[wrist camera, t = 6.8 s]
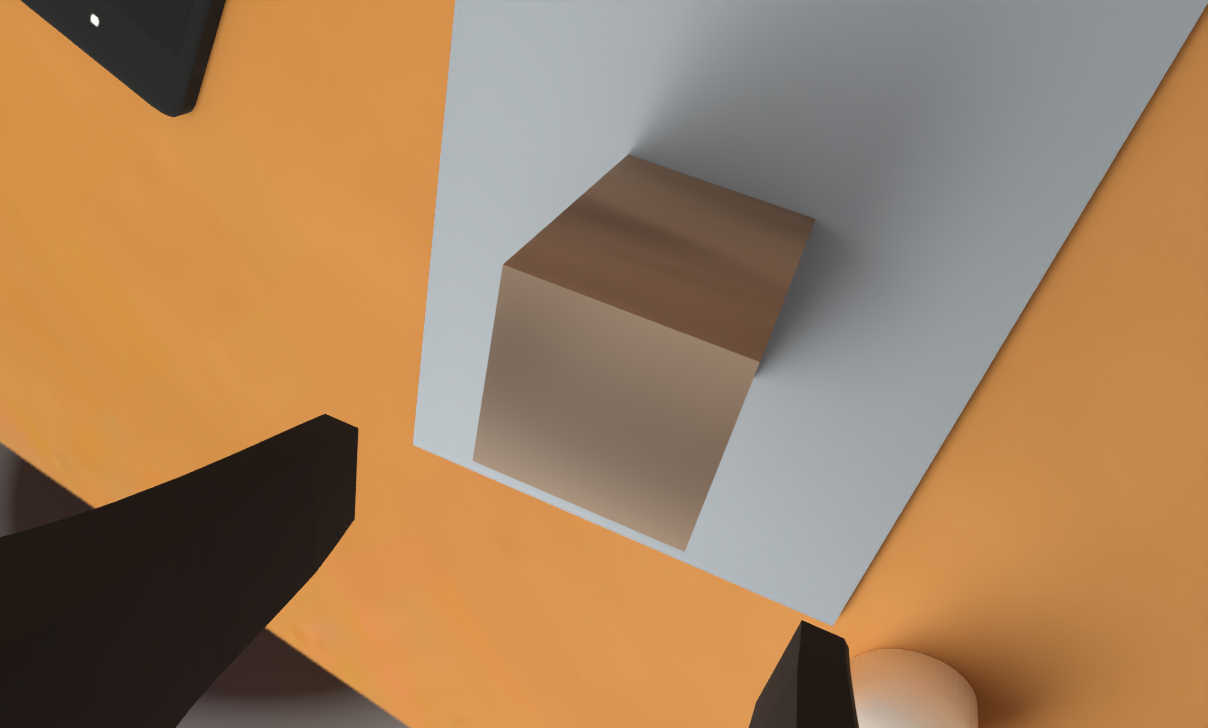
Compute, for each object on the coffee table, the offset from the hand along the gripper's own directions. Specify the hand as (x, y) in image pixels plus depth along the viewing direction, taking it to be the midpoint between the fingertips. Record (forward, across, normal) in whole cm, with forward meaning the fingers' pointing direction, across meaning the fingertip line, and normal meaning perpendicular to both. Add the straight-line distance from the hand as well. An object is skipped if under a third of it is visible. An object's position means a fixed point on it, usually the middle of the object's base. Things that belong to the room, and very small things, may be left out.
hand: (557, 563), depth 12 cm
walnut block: (+9, +1, -1) cm, 9 cm away
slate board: (+10, 0, 0) cm, 10 cm away
